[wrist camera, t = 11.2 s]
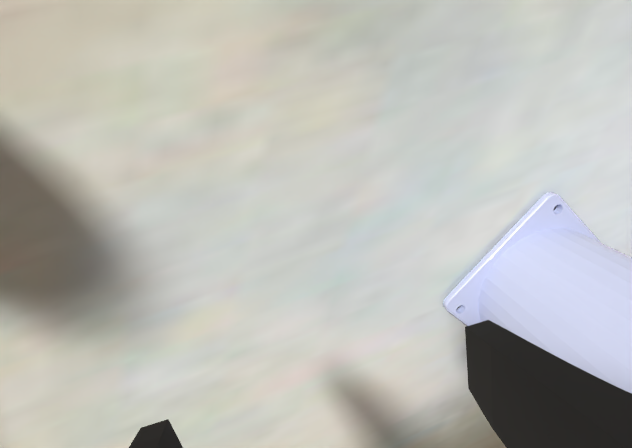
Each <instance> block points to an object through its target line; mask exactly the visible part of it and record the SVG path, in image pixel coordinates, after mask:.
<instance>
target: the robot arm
mask: <svg viewBox="0 0 632 448" xmlns="http://www.w3.org/2000/svg"><path fill="white" fill-rule="evenodd" d="M555 206H556V209H555V210H554V208H555ZM553 210H554V211H553ZM443 306H444V307H445V309H446V310H447V311H448V312H449V313H451V314H452V315H454V316H455V317H456V318H458V319H459V320H460V321H462V322H463V323H464V324H466V325H467V327H465V332H466V350H467V368H468V385H469V390H470V391H471V393H472V395H473V397H474V398H475V400H476V402H477V403H478V405H479V407H480V409H481V410H482V412H483V414H484V415H485V417H486V419H487V420H488V422H489V423H490V425H491V427H492V428H493V430H494V431H495V432H496V434H497V435H498V437H499V438H500V439H501V441H502V442H503V443H504V445H505V446H506V447H507V448H632V257H630V256H628V255H625V254H623V253H621V252H619V251H617V250H615V249H613V248H611V247H609V246H606V245H604V244H602V243H601V242H600V241H599V240H598V238H597V237H596V236H595V235H594V234H593V233H592V232H591V231H590V229H589V228H588V227H587V226H586V225H585V224H584V223H583V222H582V220H581V219H580V218H579V217H578V216H577V215H576V214H575V213H574V212H573V210H572V209H571V208H570V207H569V206H568V205H567V204H566V203H565V201H564V200H563V199H562V198H561V197H560V196H559V195H557V194H555V193H553V192H548V193H546V194H544V195H543V196H542V197H541V198H540V199H539V200H538V201H537V202H536V203H535V204H534V205H533V206H532V207H531V208H530V210H529V211H528V212H527V213H526V214H525V215H524V216H523V217H522V218H521V219H520V220H519V221H518V222H517V223H516V224H515V225H514V226H513V227H512V228H511V229H510V230H509V232H508V233H507V234H506V235H505V236H504V237H503V238H502V239H501V240H500V241H499V242H498V243H497V244H496V245H495V246H494V247H493V248H492V249H491V250H490V251H489V252H488V254H487V255H486V256H485V257H484V258H483V259H482V260H481V261H480V262H479V263H478V264H477V265H476V266H475V267H474V268H473V269H472V270H471V271H470V272H469V273H468V274H467V275H466V277H465V278H464V279H463V280H462V281H461V282H460V283H459V284H458V285H457V286H456V287H455V288H454V289H453V290H452V291H451V292H450V293H449V294H448V295H447V296H446V298H445V299H444V301H443ZM459 306H461V307H460V308H459V309H457V308H458V307H459ZM129 448H183V447H182V445H181V443H180V441H179V439H178V437H177V435H176V434H175V432H174V430H173V428H172V426H171V424H170V422H169V420H165V421H161V422H158V423H155V424H152V425H149V426H145V427H142V428H141V429H140V430H139V432H138V433H137V435H136V437H135V438H134V440H133V442H132V443H131V445H130V447H129Z"/></svg>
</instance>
